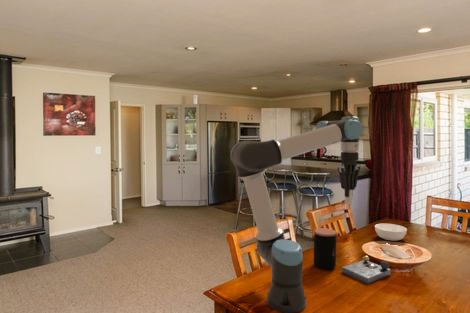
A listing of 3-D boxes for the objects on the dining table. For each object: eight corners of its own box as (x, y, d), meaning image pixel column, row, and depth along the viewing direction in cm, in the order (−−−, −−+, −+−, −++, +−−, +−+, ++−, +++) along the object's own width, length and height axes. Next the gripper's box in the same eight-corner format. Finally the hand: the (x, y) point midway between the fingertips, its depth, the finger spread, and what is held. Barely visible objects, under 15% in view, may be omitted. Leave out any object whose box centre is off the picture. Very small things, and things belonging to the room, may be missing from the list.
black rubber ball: (385, 271, 151) (386, 263, 151) (378, 268, 154) (378, 260, 154) (390, 269, 153) (391, 261, 153) (383, 266, 156) (383, 258, 156)
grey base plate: (367, 283, 144) (367, 278, 144) (341, 272, 156) (342, 267, 155) (390, 274, 153) (390, 269, 153) (364, 264, 165) (364, 259, 164)
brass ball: (366, 263, 160) (366, 257, 160) (361, 261, 162) (361, 255, 162) (370, 262, 161) (370, 256, 161) (365, 260, 164) (365, 254, 164)
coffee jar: (336, 272, 156) (337, 235, 154) (313, 270, 158) (314, 233, 157) (334, 263, 166) (335, 228, 165) (313, 261, 168) (313, 227, 167)
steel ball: (372, 272, 154) (374, 265, 154) (366, 269, 157) (367, 262, 157) (376, 273, 156) (378, 266, 156) (370, 270, 159) (371, 263, 159)
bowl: (378, 232, 218) (378, 221, 217) (408, 237, 207) (409, 226, 207) (371, 239, 203) (371, 228, 203) (403, 245, 192) (404, 233, 192)
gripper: (347, 152, 139) (345, 207, 141) (366, 151, 146) (364, 203, 148) (333, 151, 145) (331, 204, 147) (352, 150, 152) (350, 200, 154)
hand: (348, 203), depth 147 cm, fingers closed
